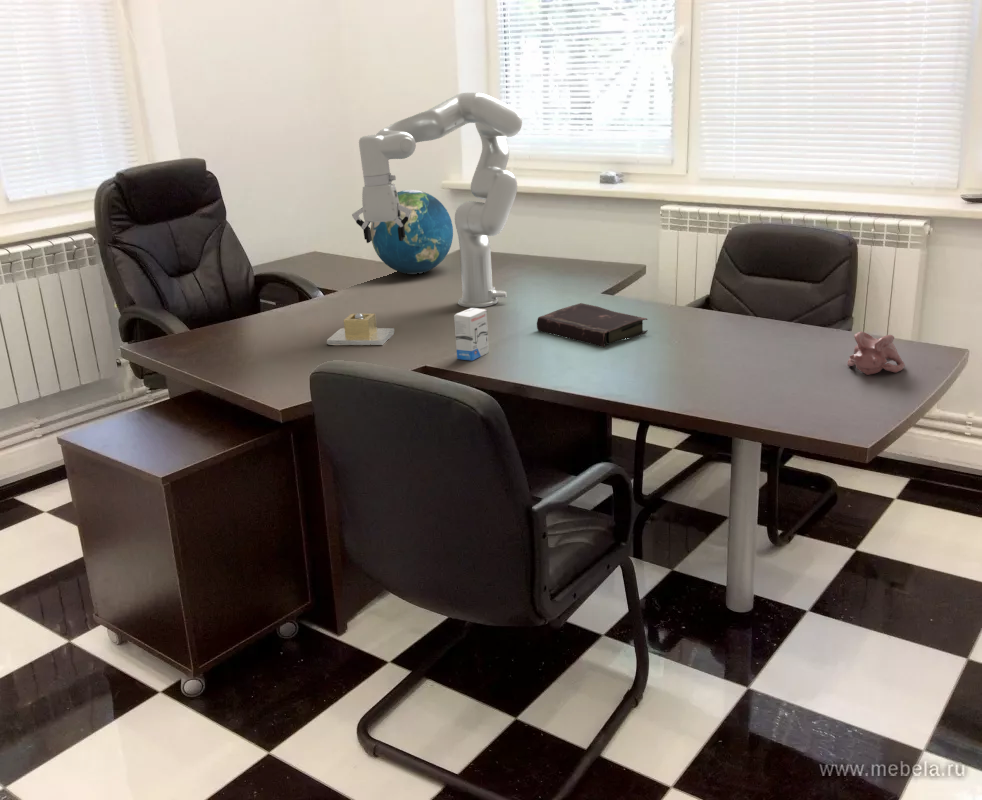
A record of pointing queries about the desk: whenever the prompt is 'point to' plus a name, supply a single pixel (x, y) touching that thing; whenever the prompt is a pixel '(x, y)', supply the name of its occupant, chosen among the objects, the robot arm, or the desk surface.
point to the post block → (375, 339)
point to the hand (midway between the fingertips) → (385, 241)
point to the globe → (415, 235)
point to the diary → (591, 324)
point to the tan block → (360, 326)
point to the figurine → (875, 354)
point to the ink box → (471, 334)
